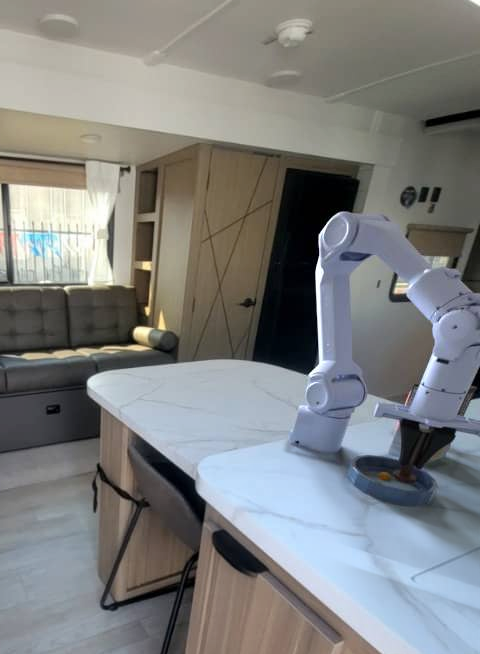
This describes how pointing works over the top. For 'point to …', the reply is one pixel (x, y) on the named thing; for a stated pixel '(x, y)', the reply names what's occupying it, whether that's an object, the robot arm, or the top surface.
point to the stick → (412, 459)
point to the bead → (384, 476)
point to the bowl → (387, 493)
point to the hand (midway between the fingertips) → (409, 464)
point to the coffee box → (396, 441)
